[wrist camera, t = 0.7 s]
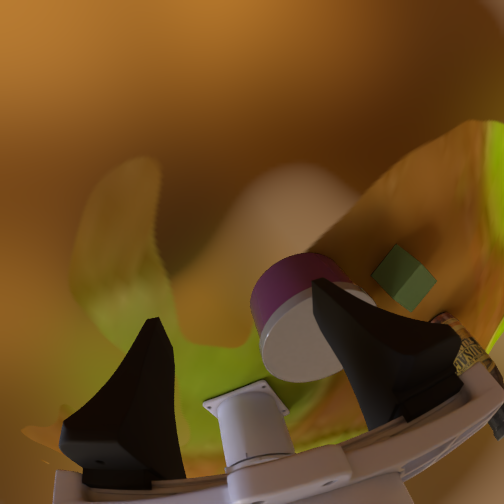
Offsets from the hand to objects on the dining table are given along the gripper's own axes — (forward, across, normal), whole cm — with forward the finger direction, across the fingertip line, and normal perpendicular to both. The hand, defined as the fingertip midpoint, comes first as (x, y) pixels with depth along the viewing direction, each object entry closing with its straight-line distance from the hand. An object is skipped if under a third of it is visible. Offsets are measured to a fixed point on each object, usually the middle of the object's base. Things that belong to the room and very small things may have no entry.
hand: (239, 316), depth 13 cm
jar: (+10, -6, +8) cm, 14 cm away
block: (+10, -16, +8) cm, 20 cm away
